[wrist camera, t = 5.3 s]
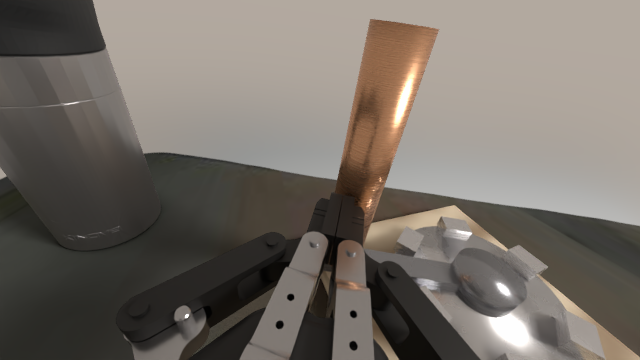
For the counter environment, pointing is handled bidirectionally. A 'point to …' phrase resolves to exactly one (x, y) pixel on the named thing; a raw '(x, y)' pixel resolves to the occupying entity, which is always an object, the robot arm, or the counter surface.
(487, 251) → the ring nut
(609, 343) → the nut base plate
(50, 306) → the counter surface
